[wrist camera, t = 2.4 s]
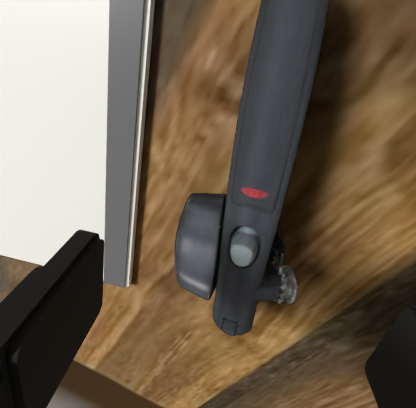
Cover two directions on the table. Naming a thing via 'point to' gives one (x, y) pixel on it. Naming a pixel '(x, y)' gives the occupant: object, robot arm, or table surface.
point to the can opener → (255, 173)
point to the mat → (72, 125)
